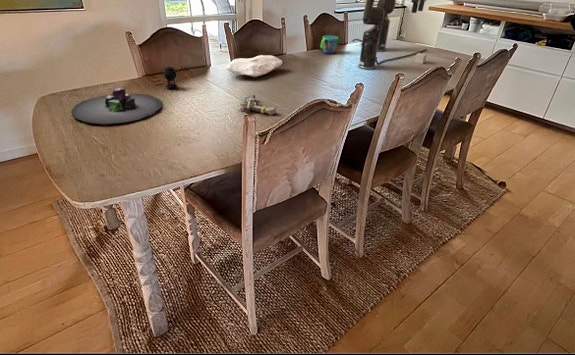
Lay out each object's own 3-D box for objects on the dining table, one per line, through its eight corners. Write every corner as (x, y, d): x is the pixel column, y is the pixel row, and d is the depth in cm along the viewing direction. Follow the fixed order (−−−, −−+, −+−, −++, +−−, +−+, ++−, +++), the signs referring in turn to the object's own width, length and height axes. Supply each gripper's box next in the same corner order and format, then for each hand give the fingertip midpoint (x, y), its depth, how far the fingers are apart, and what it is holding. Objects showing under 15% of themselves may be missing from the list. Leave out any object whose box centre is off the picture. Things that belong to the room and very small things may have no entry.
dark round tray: (174, 113, 149) (170, 91, 144) (79, 131, 131) (72, 107, 127) (148, 93, 173) (144, 73, 169) (65, 106, 156) (59, 85, 151)
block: (414, 62, 232) (416, 54, 229) (417, 60, 236) (418, 52, 233) (422, 63, 230) (424, 55, 227) (424, 62, 233) (426, 54, 231)
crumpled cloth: (213, 69, 198) (213, 53, 192) (266, 60, 216) (267, 45, 210) (236, 88, 185) (236, 71, 179) (290, 76, 203) (292, 61, 197)
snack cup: (333, 49, 252) (334, 34, 247) (343, 53, 245) (344, 37, 239) (315, 52, 245) (316, 36, 239) (324, 55, 237) (326, 39, 232)
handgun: (275, 94, 165) (242, 93, 164) (275, 109, 150) (239, 108, 149) (275, 100, 167) (242, 99, 166) (275, 115, 152) (239, 114, 151)
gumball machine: (165, 90, 172) (162, 69, 166) (163, 86, 176) (159, 65, 171) (180, 88, 175) (177, 67, 169) (177, 85, 179) (174, 64, 174)
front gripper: (428, -27, 155) (419, 14, 164) (438, -28, 165) (429, 11, 174) (411, -28, 159) (403, 12, 168) (422, -29, 169) (414, 9, 177)
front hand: (417, 11), depth 171 cm, fingers open, 8 cm apart
